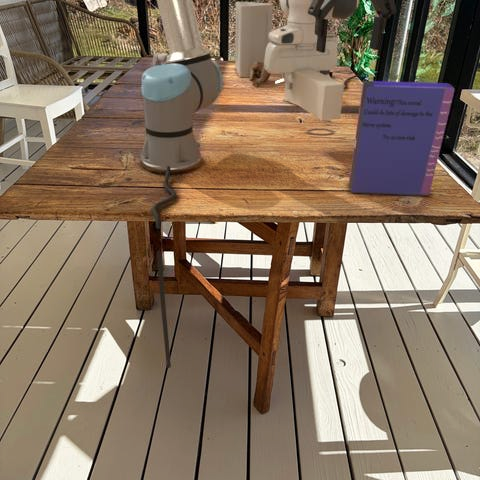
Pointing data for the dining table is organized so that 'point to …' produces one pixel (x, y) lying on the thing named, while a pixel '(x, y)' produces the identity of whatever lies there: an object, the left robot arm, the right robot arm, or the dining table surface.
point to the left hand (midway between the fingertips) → (347, 50)
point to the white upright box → (251, 34)
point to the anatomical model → (258, 73)
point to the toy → (164, 58)
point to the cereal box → (399, 137)
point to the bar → (316, 93)
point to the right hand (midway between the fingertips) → (299, 88)
